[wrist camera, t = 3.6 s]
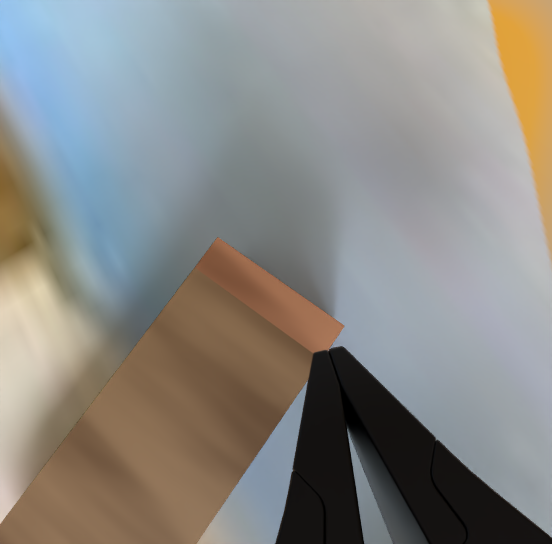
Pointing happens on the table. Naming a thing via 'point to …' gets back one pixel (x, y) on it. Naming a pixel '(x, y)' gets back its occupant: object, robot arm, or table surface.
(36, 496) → the walnut pillar
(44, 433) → the table surface
